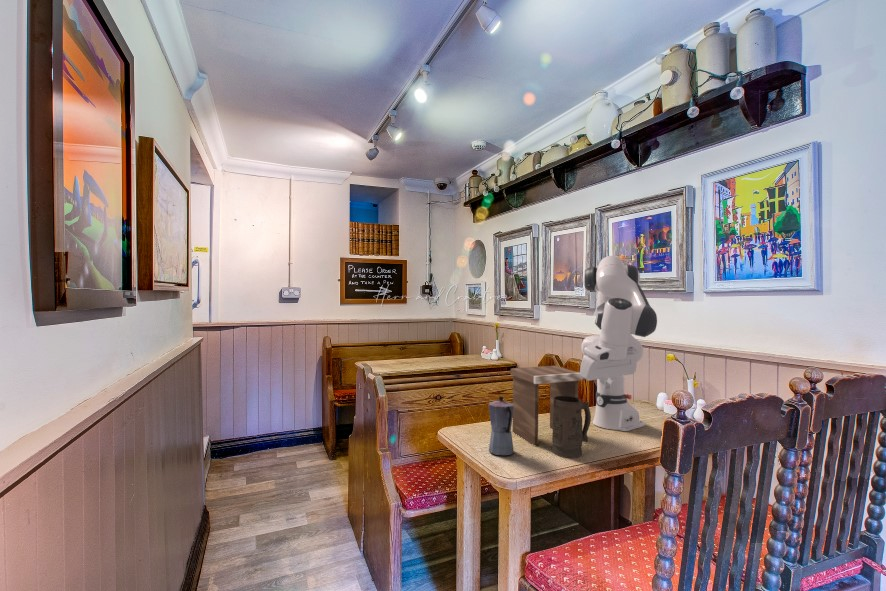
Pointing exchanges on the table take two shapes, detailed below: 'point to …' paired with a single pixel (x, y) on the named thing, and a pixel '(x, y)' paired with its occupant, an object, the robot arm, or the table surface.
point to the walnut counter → (528, 395)
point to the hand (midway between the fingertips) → (605, 388)
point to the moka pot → (501, 427)
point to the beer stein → (569, 426)
